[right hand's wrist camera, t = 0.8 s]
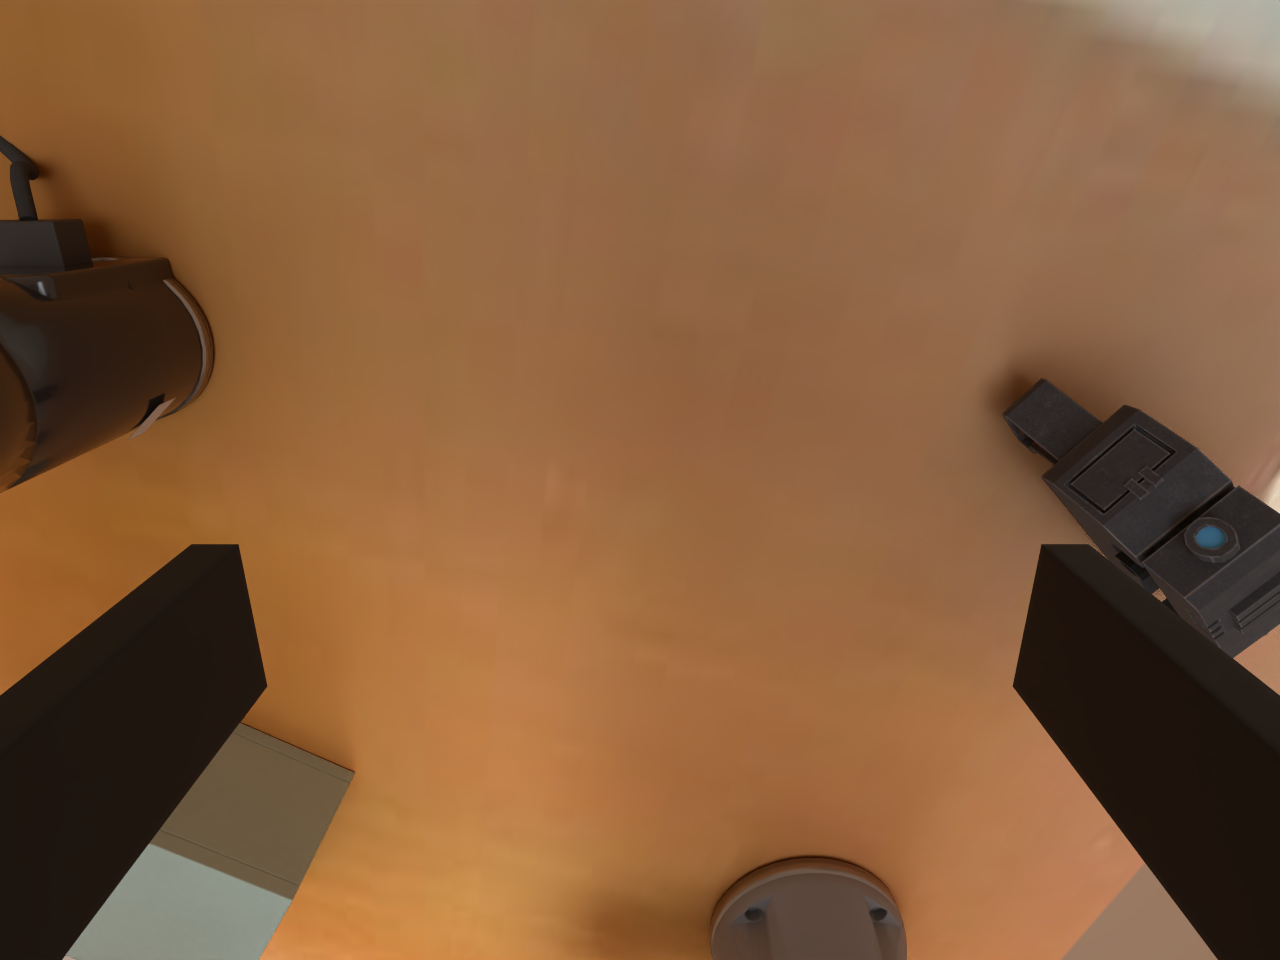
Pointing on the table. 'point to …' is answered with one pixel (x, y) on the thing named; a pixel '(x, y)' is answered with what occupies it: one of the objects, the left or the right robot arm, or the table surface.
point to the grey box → (222, 858)
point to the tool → (1160, 513)
